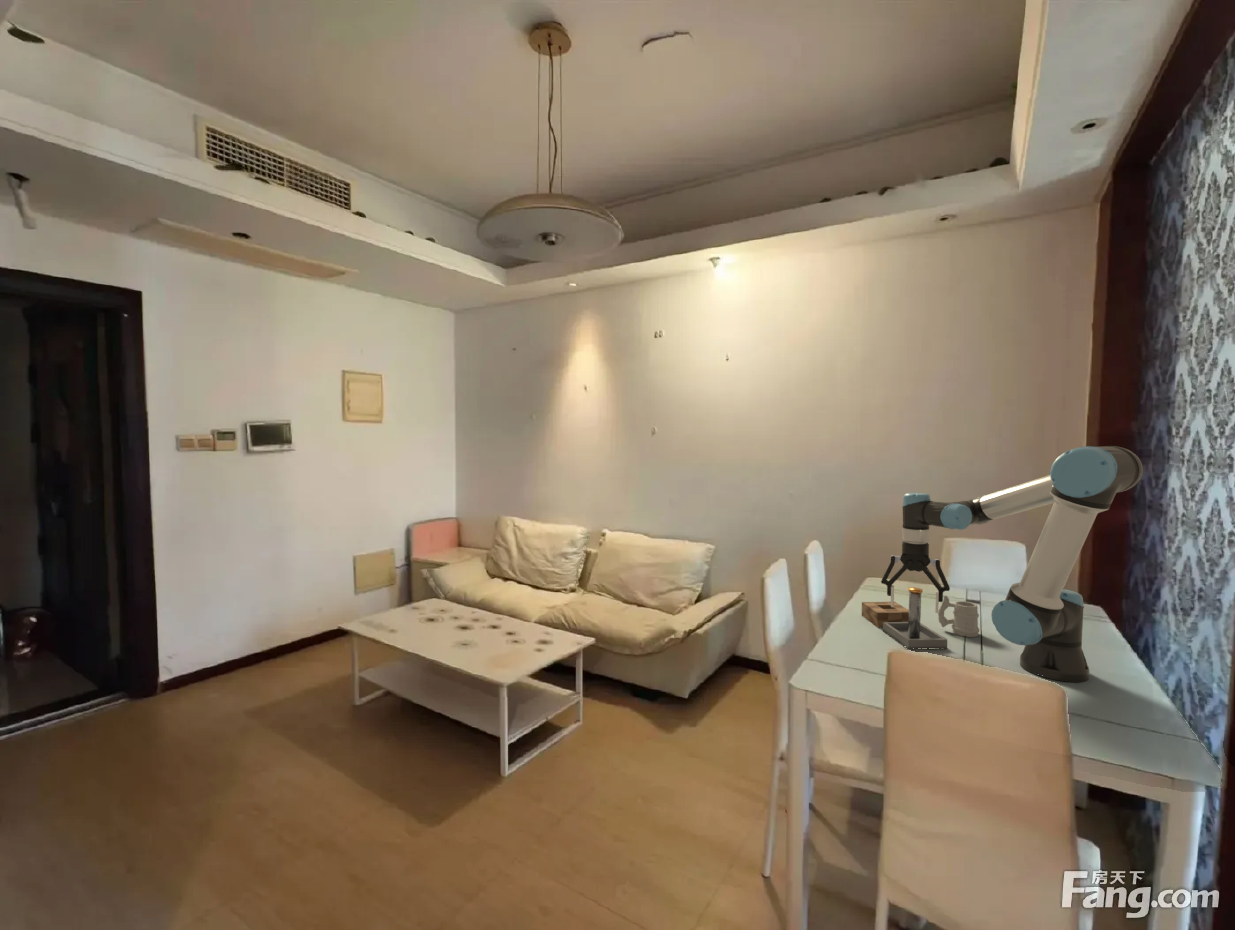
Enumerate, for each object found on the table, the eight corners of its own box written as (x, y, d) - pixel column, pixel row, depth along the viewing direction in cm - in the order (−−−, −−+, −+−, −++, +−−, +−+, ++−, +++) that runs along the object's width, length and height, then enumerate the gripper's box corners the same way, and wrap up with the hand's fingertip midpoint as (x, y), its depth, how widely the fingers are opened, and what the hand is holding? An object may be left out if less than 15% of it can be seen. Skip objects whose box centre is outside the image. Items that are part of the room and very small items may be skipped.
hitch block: (912, 626, 190) (912, 612, 190) (877, 627, 190) (877, 612, 190) (894, 615, 202) (894, 601, 202) (861, 615, 202) (861, 602, 202)
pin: (921, 636, 179) (922, 588, 178) (920, 640, 175) (922, 591, 174) (907, 634, 181) (908, 586, 180) (906, 638, 177) (908, 589, 176)
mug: (980, 639, 178) (981, 602, 177) (937, 633, 184) (938, 597, 183) (977, 631, 185) (978, 596, 184) (936, 626, 190) (937, 591, 190)
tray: (947, 649, 170) (947, 639, 170) (908, 649, 170) (908, 640, 170) (918, 630, 186) (918, 621, 186) (882, 631, 186) (883, 622, 186)
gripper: (959, 542, 174) (958, 610, 175) (874, 536, 186) (873, 600, 187) (960, 547, 167) (958, 617, 168) (872, 540, 179) (871, 606, 180)
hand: (914, 608), depth 178 cm, fingers open, 12 cm apart
